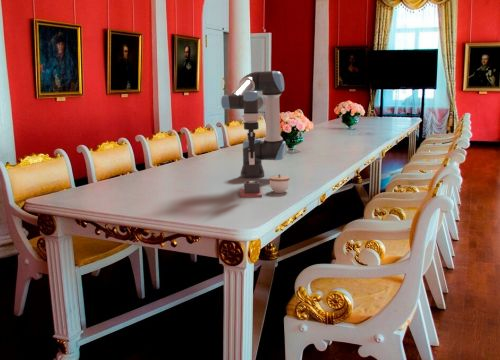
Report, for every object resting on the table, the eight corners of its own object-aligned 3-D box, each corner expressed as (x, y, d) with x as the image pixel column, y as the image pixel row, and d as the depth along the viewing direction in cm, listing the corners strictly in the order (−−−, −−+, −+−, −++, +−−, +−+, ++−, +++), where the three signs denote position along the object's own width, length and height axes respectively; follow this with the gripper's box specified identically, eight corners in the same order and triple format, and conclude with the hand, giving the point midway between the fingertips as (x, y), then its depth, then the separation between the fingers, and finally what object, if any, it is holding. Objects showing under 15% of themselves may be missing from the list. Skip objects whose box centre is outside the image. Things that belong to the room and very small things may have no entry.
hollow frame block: (259, 190, 281) (259, 180, 280) (259, 192, 274) (259, 183, 273) (244, 190, 281) (244, 180, 280) (244, 193, 274) (244, 183, 273)
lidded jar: (273, 194, 276) (272, 176, 274) (266, 190, 286) (266, 173, 285) (292, 193, 279) (292, 175, 277) (285, 189, 289) (285, 172, 287)
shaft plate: (240, 191, 285) (240, 178, 284) (260, 190, 285) (260, 178, 284) (240, 197, 270) (240, 184, 268) (262, 196, 270) (262, 184, 269)
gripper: (243, 120, 283) (244, 159, 287) (244, 123, 259) (244, 166, 262) (257, 120, 283) (258, 159, 287) (259, 123, 259) (259, 166, 262)
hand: (251, 162), depth 275 cm, fingers open, 13 cm apart
